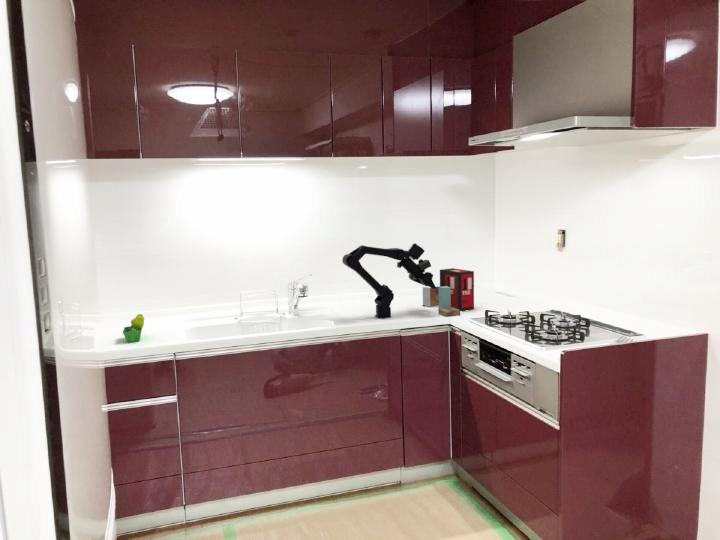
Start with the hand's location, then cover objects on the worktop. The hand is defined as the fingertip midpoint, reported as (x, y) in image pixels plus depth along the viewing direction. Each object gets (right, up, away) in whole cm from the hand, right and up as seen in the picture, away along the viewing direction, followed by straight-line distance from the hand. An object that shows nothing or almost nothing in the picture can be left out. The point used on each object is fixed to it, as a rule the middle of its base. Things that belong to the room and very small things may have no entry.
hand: (431, 286), depth 299 cm
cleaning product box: (+15, -12, +11) cm, 21 cm away
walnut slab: (+8, -14, -5) cm, 17 cm away
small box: (+2, -11, +19) cm, 22 cm away
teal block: (+7, -12, +4) cm, 15 cm away
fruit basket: (-136, -22, -39) cm, 143 cm away
